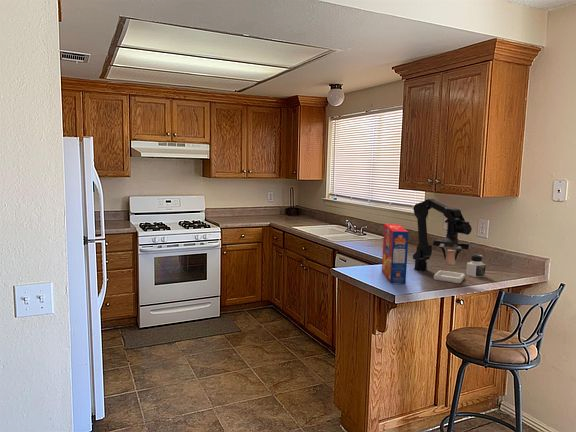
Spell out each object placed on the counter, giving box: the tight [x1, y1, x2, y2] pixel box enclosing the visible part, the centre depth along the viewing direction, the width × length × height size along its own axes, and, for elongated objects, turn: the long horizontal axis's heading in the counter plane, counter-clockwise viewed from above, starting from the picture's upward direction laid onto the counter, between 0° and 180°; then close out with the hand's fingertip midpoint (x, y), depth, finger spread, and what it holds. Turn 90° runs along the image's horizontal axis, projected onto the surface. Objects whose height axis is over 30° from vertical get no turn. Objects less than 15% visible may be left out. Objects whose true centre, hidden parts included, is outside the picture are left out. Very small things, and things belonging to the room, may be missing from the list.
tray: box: [433, 270, 466, 284], centre depth 245 cm, size 14×14×2 cm
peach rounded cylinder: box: [445, 249, 456, 265], centre depth 243 cm, size 5×5×7 cm
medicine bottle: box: [465, 254, 487, 278], centre depth 253 cm, size 7×7×12 cm
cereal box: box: [381, 223, 410, 285], centre depth 244 cm, size 28×8×28 cm, turn 177°
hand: (450, 259), depth 243 cm, fingers closed on peach rounded cylinder, 5 cm apart
